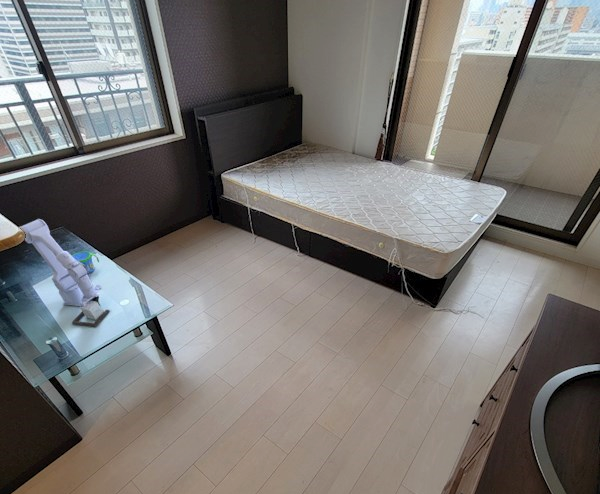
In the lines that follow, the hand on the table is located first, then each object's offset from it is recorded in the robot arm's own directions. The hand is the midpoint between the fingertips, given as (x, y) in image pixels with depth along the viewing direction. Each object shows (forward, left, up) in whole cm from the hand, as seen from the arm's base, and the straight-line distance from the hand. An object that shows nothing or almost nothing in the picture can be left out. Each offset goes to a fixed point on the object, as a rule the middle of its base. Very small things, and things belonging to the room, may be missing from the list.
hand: (97, 308), depth 174 cm
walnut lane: (0, -5, -1) cm, 6 cm away
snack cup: (-27, +31, -2) cm, 41 cm away
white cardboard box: (+1, -4, -1) cm, 4 cm away
